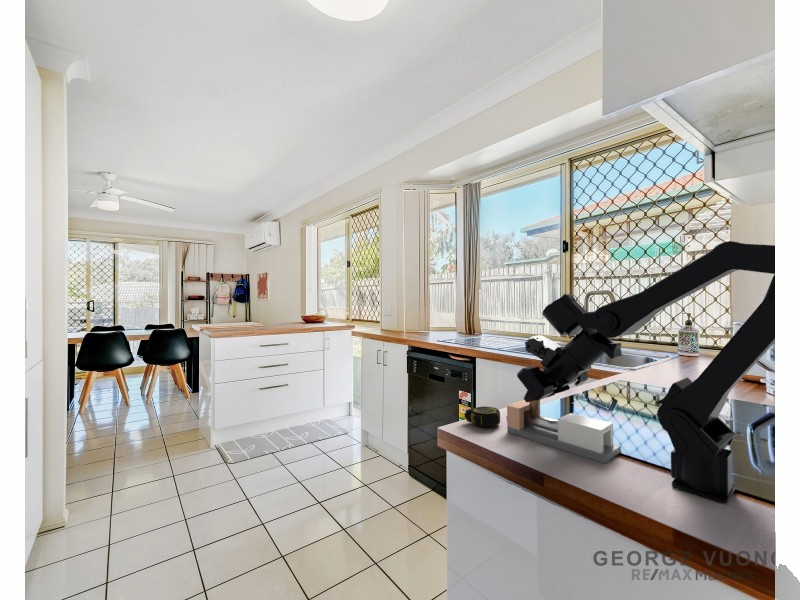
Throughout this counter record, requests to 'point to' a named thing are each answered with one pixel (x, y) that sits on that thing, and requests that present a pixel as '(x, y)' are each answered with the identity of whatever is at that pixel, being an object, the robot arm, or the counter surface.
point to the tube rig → (567, 433)
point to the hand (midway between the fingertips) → (528, 399)
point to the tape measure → (483, 416)
